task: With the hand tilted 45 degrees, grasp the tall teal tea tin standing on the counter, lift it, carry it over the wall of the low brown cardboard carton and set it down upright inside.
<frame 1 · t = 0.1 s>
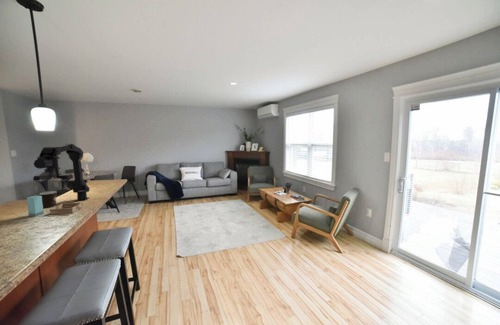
hand: (54, 190, 133), 15 cm above the countertop, tool pointing down, fingers open, 9 cm apart
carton: (67, 210, 137), on the countertop
tea tin: (36, 215, 129), on the countertop
coffee mug: (51, 206, 147), on the countertop
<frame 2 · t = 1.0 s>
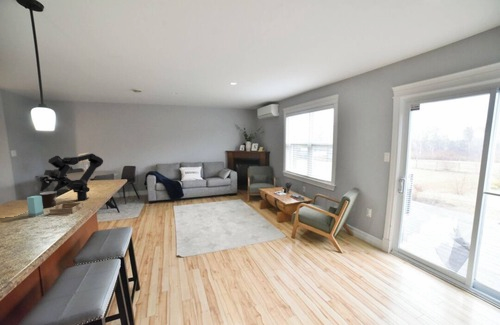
hand: (47, 191, 135), 13 cm above the countertop, tool tilted 45°, fingers open, 9 cm apart
nothing on the countertop moved.
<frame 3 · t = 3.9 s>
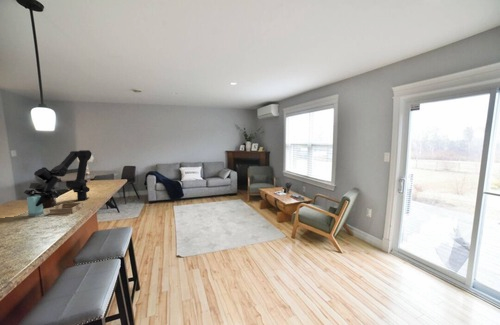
hand: (32, 205, 127), 7 cm above the countertop, tool tilted 45°, fingers closed on tea tin, 4 cm apart
tea tin: (36, 215, 129), on the countertop, touching gripper
everything else where it was.
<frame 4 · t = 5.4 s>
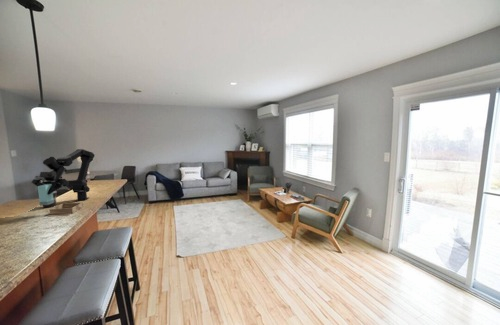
hand: (43, 194, 128), 13 cm above the countertop, tool tilted 45°, fingers closed on tea tin, 4 cm apart
tea tin: (47, 203, 131), point 7 cm above the countertop, touching gripper
everything else where it was.
when the fingers open (8 cm above the countertop, at t = 7.2 s): tea tin drops 1 cm, resting on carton.
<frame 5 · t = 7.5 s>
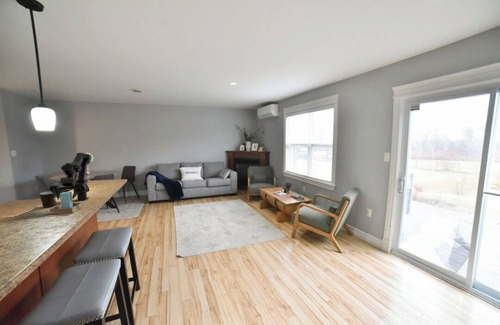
hand: (65, 199, 134), 9 cm above the countertop, tool tilted 45°, fingers open, 7 cm apart
tea tin: (67, 210, 137), resting on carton
everything else where it was.
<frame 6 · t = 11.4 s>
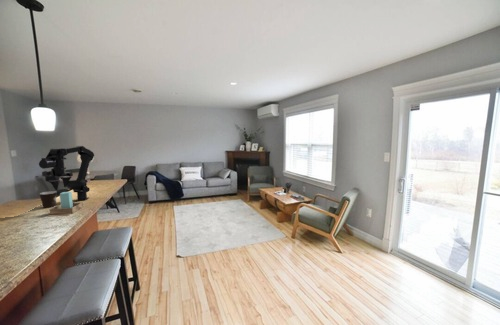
hand: (61, 188, 144), 13 cm above the countertop, tool pointing down, fingers open, 9 cm apart
nothing on the countertop moved.
at the end: tea tin inside the target area on the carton (0.0 cm from its centre), point 0.5 cm above the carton's base; tea tin tilted 0°; the gripper is holding nothing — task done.
